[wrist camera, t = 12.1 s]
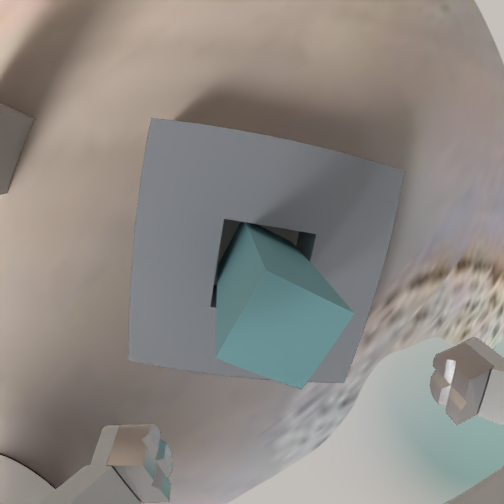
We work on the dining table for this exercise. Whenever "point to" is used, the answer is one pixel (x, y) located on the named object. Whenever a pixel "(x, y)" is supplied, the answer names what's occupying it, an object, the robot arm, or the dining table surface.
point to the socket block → (257, 212)
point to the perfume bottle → (11, 142)
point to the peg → (274, 308)
